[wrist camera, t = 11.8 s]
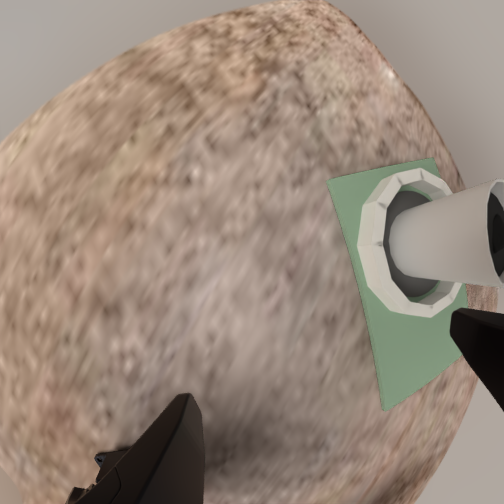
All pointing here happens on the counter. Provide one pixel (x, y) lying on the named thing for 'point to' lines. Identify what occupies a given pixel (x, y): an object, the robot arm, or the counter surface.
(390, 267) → the practice green
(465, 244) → the white coffee cup
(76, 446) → the counter surface
